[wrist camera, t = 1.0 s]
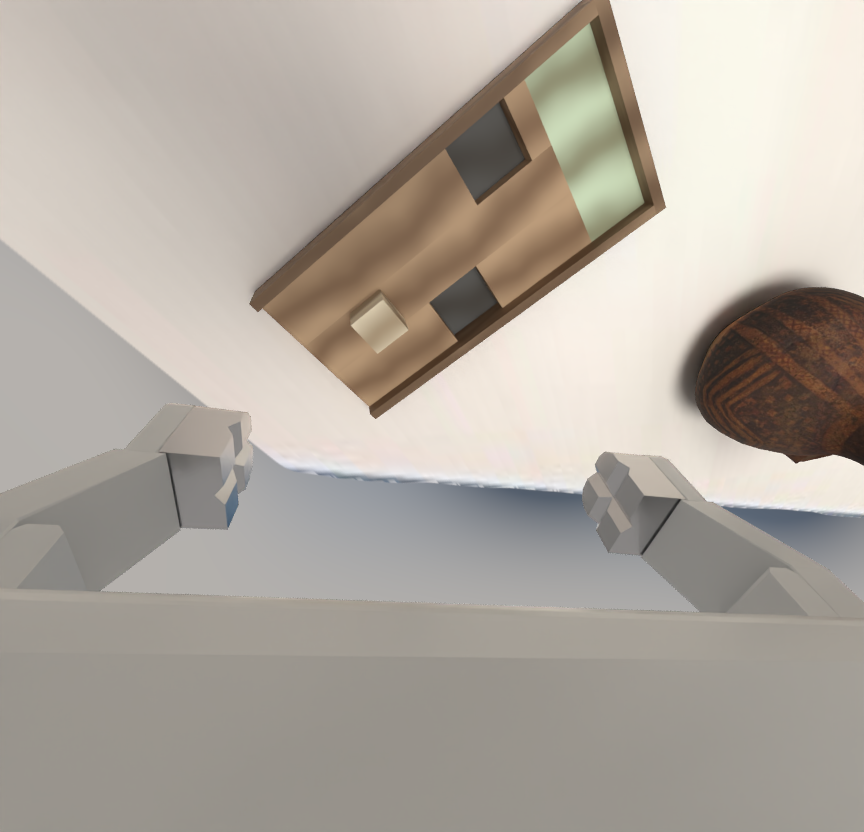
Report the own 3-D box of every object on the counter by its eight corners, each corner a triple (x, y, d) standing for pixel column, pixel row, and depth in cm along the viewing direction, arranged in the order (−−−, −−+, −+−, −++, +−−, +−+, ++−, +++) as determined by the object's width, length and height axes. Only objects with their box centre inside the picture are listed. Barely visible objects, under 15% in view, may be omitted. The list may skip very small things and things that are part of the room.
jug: (642, 395, 59) (853, 582, 35) (756, 247, 48) (1168, 370, 24) (736, 426, 67) (959, 594, 43) (851, 305, 56) (1230, 439, 33)
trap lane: (255, 291, 40) (249, 304, 37) (582, -1, 32) (606, -12, 29) (373, 402, 50) (375, 419, 48) (644, 202, 42) (665, 207, 40)
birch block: (349, 313, 41) (350, 325, 39) (380, 289, 40) (382, 299, 38) (375, 341, 44) (377, 353, 41) (404, 318, 43) (408, 329, 40)
